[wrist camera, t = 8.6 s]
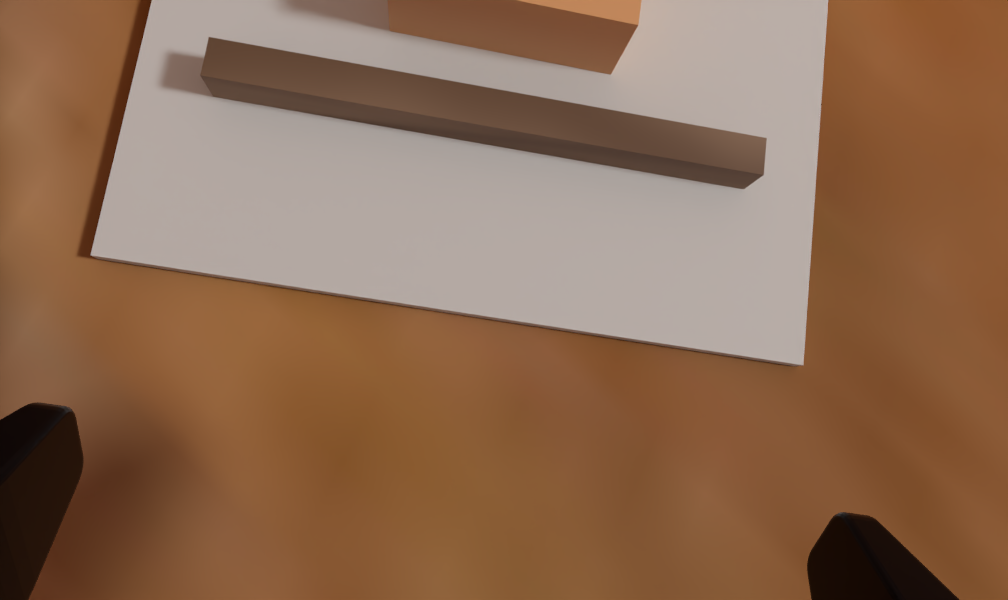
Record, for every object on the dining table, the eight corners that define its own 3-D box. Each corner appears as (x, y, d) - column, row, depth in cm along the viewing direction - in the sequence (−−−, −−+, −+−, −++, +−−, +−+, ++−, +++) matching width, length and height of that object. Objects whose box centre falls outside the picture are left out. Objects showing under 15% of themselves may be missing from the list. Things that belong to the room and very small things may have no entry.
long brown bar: (743, 189, 20) (763, 175, 19) (213, 96, 19) (200, 75, 18) (746, 154, 21) (766, 137, 19) (221, 60, 19) (208, 36, 18)
